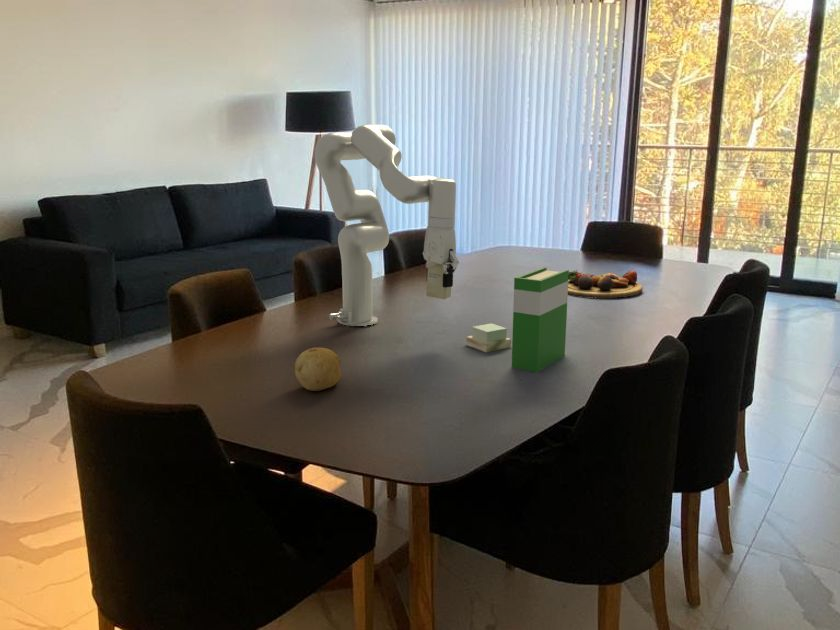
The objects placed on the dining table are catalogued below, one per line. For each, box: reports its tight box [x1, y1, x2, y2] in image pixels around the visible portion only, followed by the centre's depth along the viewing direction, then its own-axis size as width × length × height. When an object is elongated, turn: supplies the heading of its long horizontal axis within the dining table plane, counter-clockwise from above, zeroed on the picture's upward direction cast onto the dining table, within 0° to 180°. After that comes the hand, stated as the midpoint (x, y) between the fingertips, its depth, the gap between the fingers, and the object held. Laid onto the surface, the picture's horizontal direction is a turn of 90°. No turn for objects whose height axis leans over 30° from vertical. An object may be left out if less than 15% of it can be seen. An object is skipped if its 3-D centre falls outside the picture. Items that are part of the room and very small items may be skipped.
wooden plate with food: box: [568, 269, 644, 299], centre depth 297 cm, size 32×32×8 cm
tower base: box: [466, 335, 512, 353], centre depth 223 cm, size 9×9×3 cm
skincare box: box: [425, 256, 452, 300], centre depth 223 cm, size 6×4×12 cm
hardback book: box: [511, 266, 570, 373], centre depth 207 cm, size 18×7×24 cm, turn 147°
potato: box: [294, 347, 342, 392], centre depth 187 cm, size 10×12×10 cm
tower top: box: [471, 322, 508, 342], centre depth 223 cm, size 7×7×3 cm
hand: (439, 283), depth 224 cm, fingers closed on skincare box, 7 cm apart
